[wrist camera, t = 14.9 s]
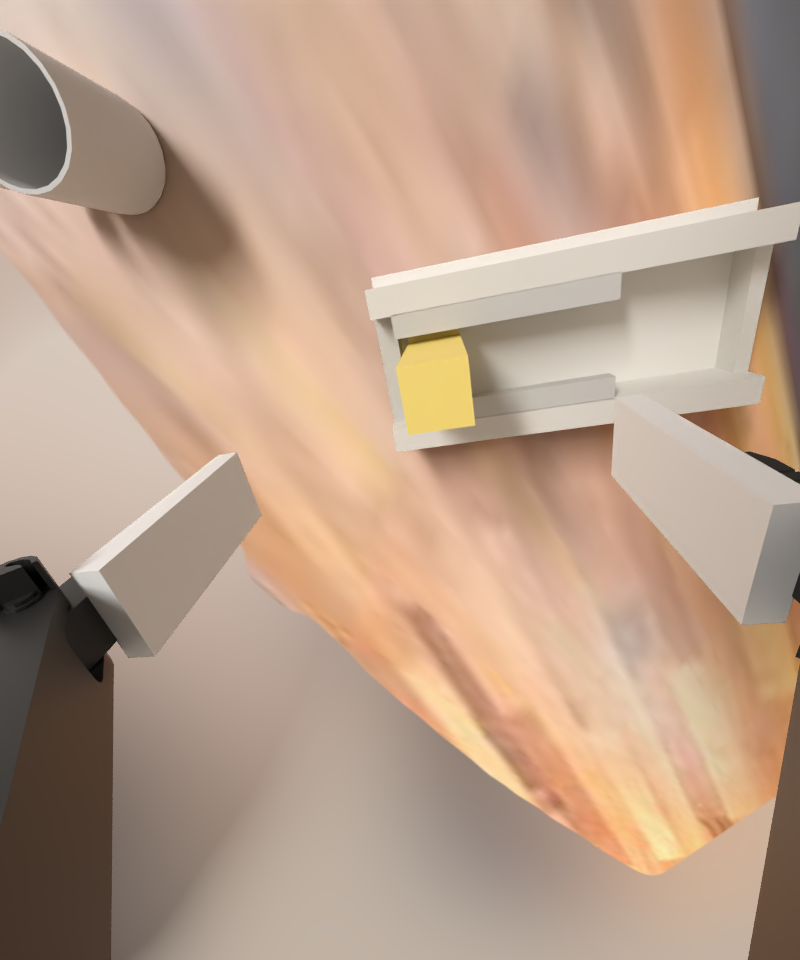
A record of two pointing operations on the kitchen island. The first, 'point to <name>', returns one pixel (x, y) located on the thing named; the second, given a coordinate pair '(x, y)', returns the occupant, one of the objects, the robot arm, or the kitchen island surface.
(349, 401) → the kitchen island surface
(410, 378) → the yellow juice carton
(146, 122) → the cup
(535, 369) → the rail
